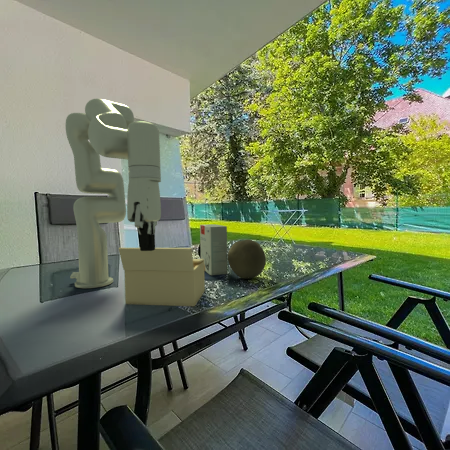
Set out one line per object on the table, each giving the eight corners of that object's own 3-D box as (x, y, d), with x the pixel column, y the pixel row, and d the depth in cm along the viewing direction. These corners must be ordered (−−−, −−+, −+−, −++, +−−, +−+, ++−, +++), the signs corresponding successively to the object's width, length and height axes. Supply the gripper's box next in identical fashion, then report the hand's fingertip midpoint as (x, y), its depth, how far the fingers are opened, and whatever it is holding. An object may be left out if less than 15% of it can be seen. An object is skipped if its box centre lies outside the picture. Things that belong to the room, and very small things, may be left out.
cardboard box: (125, 304, 77) (124, 269, 76) (146, 289, 91) (145, 260, 90) (194, 306, 74) (193, 270, 74) (204, 291, 88) (204, 260, 88)
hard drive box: (200, 268, 123) (199, 224, 122) (216, 266, 126) (215, 224, 125) (210, 275, 109) (209, 226, 108) (228, 274, 112) (227, 225, 111)
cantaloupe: (234, 273, 112) (233, 237, 111) (268, 275, 107) (268, 238, 107) (223, 282, 98) (222, 241, 97) (262, 285, 94) (262, 242, 93)
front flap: (124, 269, 76) (123, 270, 76) (119, 247, 73) (118, 248, 73) (193, 270, 74) (193, 271, 73) (191, 247, 71) (191, 248, 71)
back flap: (135, 261, 83) (135, 260, 83) (145, 260, 90) (145, 258, 90) (199, 262, 81) (199, 260, 81) (204, 260, 88) (204, 259, 88)
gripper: (143, 180, 74) (145, 246, 75) (114, 171, 59) (117, 255, 60) (169, 178, 73) (172, 246, 74) (147, 170, 58) (150, 254, 59)
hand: (147, 250), depth 67 cm, fingers closed
